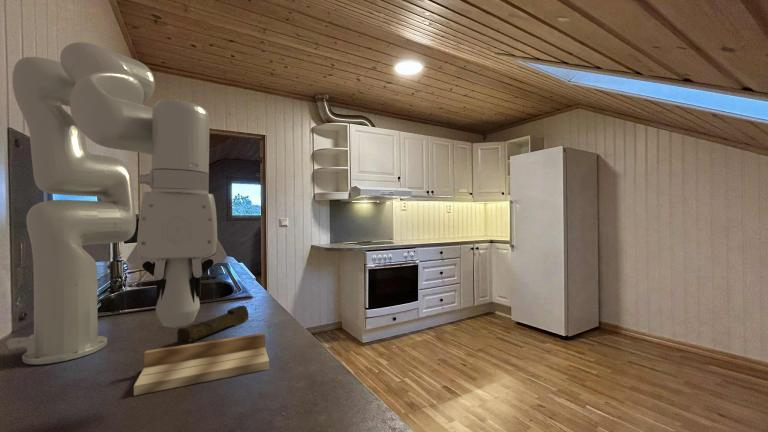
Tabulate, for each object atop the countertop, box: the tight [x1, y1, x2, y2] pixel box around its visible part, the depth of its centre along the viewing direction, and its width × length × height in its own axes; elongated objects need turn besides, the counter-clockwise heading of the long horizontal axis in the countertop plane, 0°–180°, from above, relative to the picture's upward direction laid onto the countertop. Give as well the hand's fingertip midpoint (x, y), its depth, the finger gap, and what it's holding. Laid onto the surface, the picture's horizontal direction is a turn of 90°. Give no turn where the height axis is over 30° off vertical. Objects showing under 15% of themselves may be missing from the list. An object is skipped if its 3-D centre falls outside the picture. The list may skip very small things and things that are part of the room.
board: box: [133, 332, 270, 396], centre depth 60 cm, size 20×10×4 cm, turn 115°
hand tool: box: [176, 305, 249, 345], centre depth 80 cm, size 19×4×5 cm, turn 156°
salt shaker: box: [155, 258, 201, 328], centre depth 51 cm, size 6×6×13 cm
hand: (179, 301), depth 51 cm, fingers closed on salt shaker, 3 cm apart
